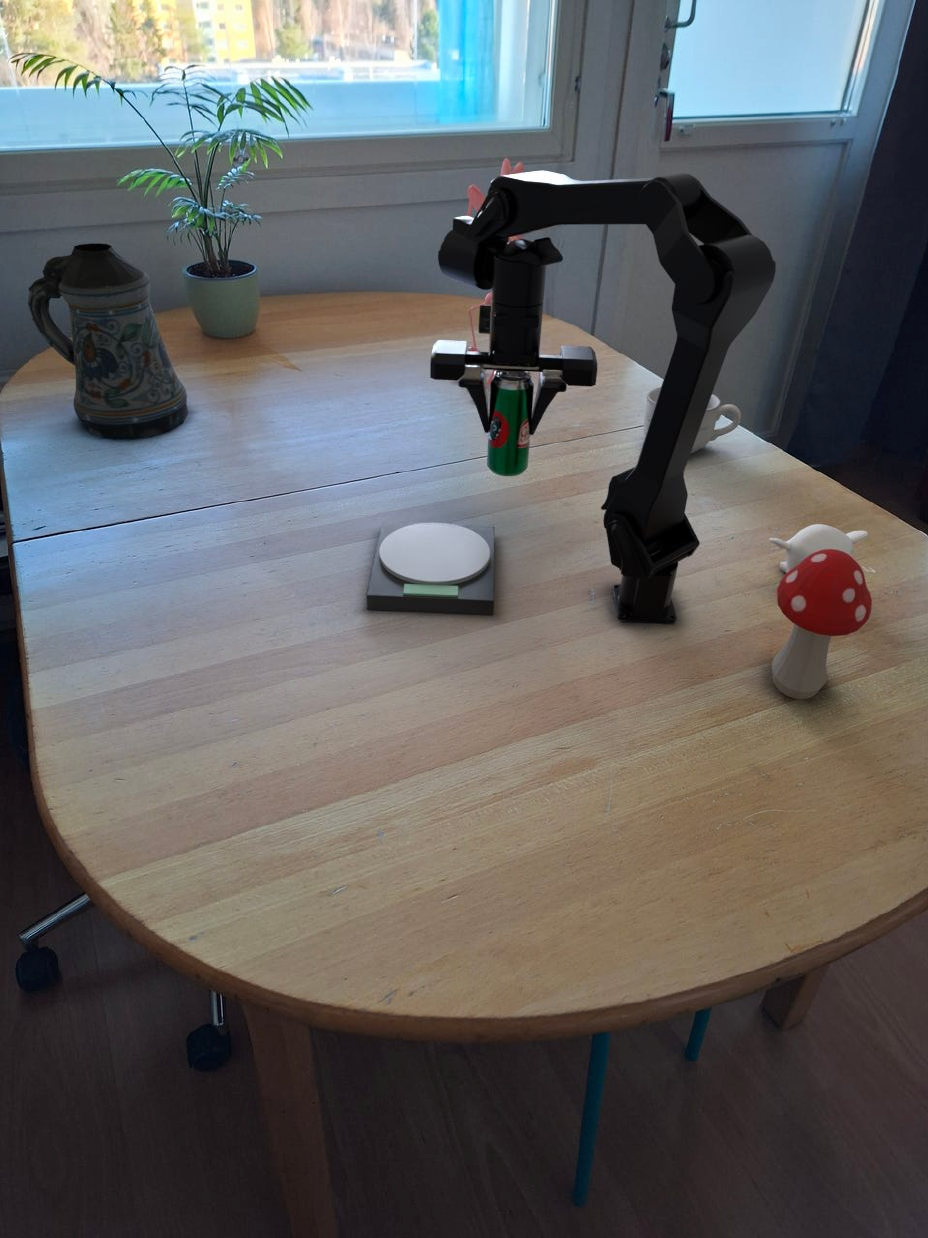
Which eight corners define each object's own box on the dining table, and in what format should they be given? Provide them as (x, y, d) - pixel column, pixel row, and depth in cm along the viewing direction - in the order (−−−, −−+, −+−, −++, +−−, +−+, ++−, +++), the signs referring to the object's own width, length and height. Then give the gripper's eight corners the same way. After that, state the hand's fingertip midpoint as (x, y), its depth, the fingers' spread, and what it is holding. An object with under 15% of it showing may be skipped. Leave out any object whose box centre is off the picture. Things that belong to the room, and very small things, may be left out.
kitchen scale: (493, 615, 97) (494, 596, 95) (367, 609, 97) (366, 590, 95) (493, 539, 109) (494, 521, 108) (382, 535, 110) (381, 517, 108)
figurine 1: (492, 423, 138) (506, 178, 117) (438, 366, 157) (442, 147, 136) (579, 412, 142) (608, 175, 121) (516, 357, 162) (532, 144, 141)
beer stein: (197, 432, 132) (168, 258, 117) (58, 450, 125) (10, 269, 111) (182, 391, 144) (155, 229, 129) (56, 406, 138) (12, 237, 123)
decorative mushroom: (758, 642, 94) (794, 521, 85) (841, 662, 92) (887, 540, 83) (747, 698, 87) (785, 572, 78) (838, 722, 84) (888, 595, 75)
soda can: (523, 480, 105) (530, 383, 98) (482, 475, 106) (486, 378, 99) (530, 463, 109) (537, 368, 102) (491, 458, 110) (495, 364, 103)
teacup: (629, 451, 131) (637, 400, 126) (651, 425, 139) (660, 376, 134) (720, 473, 126) (732, 421, 121) (738, 445, 134) (750, 395, 129)
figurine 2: (742, 587, 106) (788, 610, 96) (746, 519, 103) (793, 536, 94) (831, 579, 108) (884, 600, 98) (837, 512, 105) (893, 527, 96)
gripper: (597, 282, 102) (583, 409, 111) (437, 276, 102) (436, 402, 112) (604, 312, 93) (588, 447, 102) (430, 304, 93) (429, 439, 103)
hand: (509, 432), depth 105 cm, fingers closed on soda can, 5 cm apart
